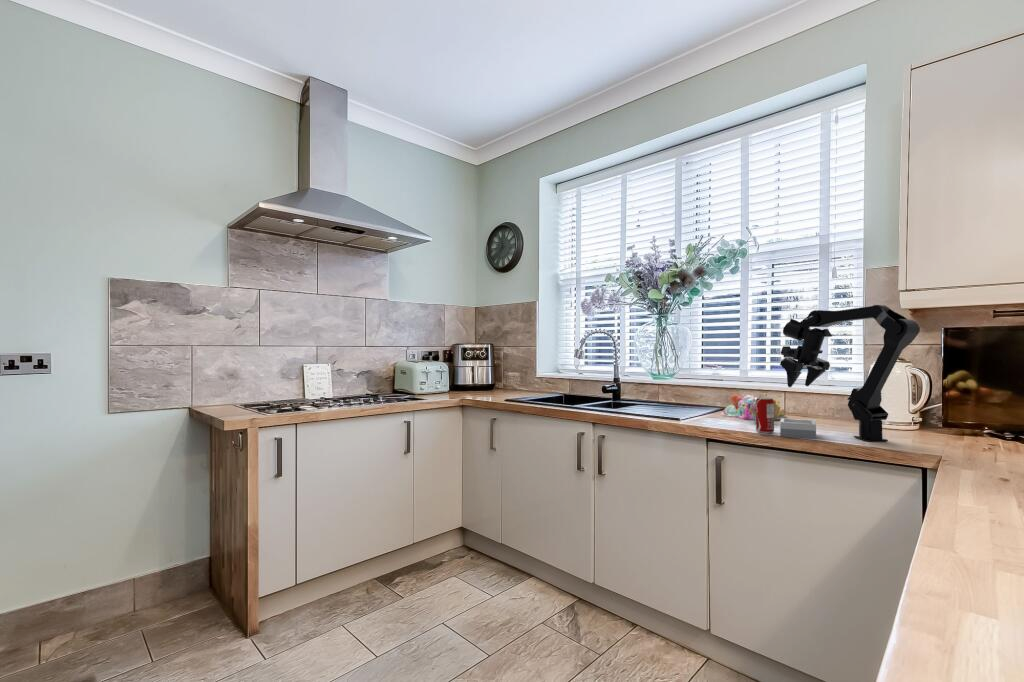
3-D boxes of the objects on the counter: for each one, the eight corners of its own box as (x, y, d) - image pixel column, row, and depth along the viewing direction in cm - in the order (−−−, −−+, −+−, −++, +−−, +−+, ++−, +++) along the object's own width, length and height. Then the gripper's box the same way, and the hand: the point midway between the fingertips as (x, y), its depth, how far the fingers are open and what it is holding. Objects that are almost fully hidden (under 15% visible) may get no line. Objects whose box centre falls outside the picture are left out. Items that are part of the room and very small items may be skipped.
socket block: (814, 433, 166) (814, 420, 166) (816, 438, 157) (816, 424, 158) (781, 431, 171) (780, 418, 171) (780, 435, 162) (780, 422, 162)
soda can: (755, 430, 174) (754, 395, 174) (772, 431, 172) (772, 396, 172) (756, 432, 168) (756, 397, 169) (774, 433, 166) (774, 397, 167)
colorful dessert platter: (788, 415, 210) (788, 393, 210) (785, 423, 190) (785, 399, 190) (725, 411, 224) (725, 391, 224) (715, 418, 204) (715, 395, 204)
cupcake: (780, 423, 187) (780, 392, 187) (763, 425, 184) (763, 392, 184) (761, 420, 195) (761, 390, 195) (744, 422, 192) (744, 390, 192)
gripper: (808, 337, 184) (795, 376, 188) (773, 337, 176) (761, 378, 181) (837, 348, 174) (822, 388, 179) (801, 348, 166) (787, 391, 171)
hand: (797, 386), depth 178 cm, fingers open, 9 cm apart
